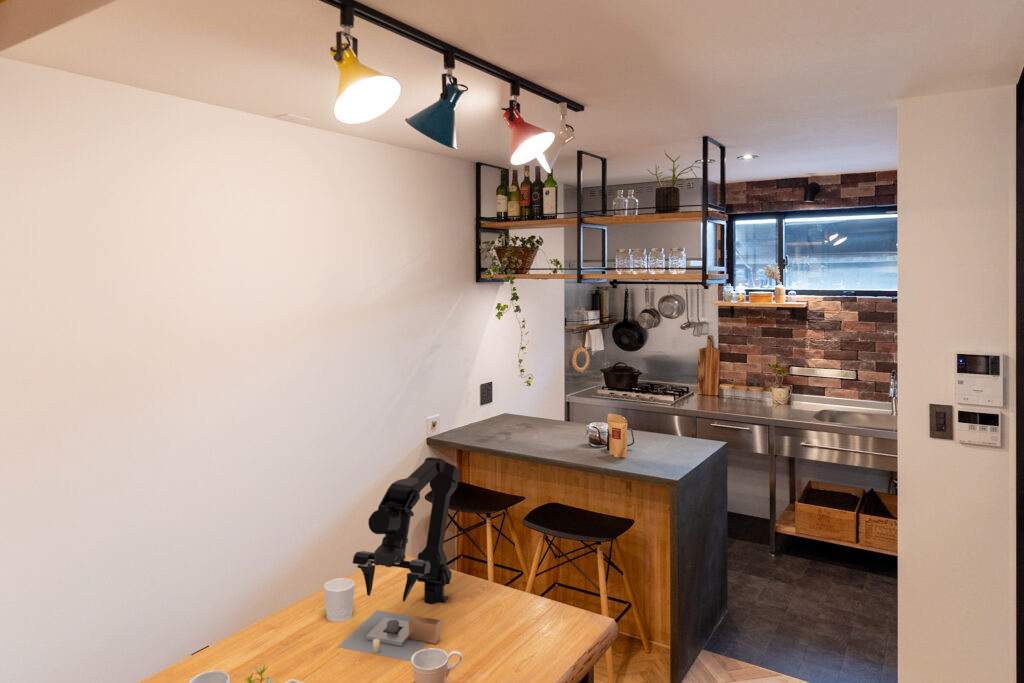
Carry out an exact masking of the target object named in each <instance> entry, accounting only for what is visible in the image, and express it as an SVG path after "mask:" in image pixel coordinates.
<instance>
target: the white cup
mask: <svg viewBox="0 0 1024 683" xmlns="http://www.w3.org/2000/svg"><path fill="white" fill-rule="evenodd" d="M323 590H324V605H325V606H324V607H325V614H326V615H325V616H326V619H327V620H328V622H333V623H343V622H346V621H348V620H350V619H351V618H352V617H353V609H354V599H355V598H354V597H355V596H354V595H355V581H354V580H352V579H350V578H345V577H344V578H343V577H341V578H334V579H333V578H332V579H331V580H327V582H325V583H324V586H323Z"/></svg>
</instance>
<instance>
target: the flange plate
mask: <svg viewBox="0 0 1024 683" xmlns="http://www.w3.org/2000/svg"><path fill="white" fill-rule="evenodd" d="M411 616H412V617H411V618H410V619H409V622H408V621H402V620H397V619H391V618H385V617H384V618H383V619H382V620H381V621H380V622H379V623H378V624H377V625H376V626H375V627H374V628H373V629H372V630H371V631H370V632H369V633H368V634H367V635H366V640H371V641H373V640H374V639H380V642H381V643H387V644H392V645H397V646H403V645H404V644H405V643H406V641H407V640H408V639H412V640H418V641H423V642H427V643H429V644H435V645H436V644H437V643H438V642H439V641H440V639H441V626H440V621H441V620H439V619H436V618H435V619H434V618H428V617H424V616H418V615H411ZM390 620H397V621H399V630H400V631H399V633H398V634H397V635H396V634H390V633H385V632H386V631H387V622H388V621H390Z"/></svg>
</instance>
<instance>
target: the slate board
mask: <svg viewBox="0 0 1024 683" xmlns="http://www.w3.org/2000/svg"><path fill="white" fill-rule="evenodd" d="M412 616H413V615H406V614H401V613H395V612H388V611H383V610H377V609H376V610H375V611H374V612H373V613H372V614H370V616H369V617H368V618H367V619H366V620H365V621H364V622H362V623H361V624H360V625H359V626H358V627H357V628H356V629H355V630H354V631H353V632H352V633H351V634H350V635H349V636H348V637H347V638H346V639H345V640H344V641H342V643H340V644H339V645H338V648H341V649H345V650H350V651H357V652H361V653H364V654H365V653H366V654H372V655H377V656H380V657H387V658H392V659H397V660H402V661H408V662H411V657H412V655H413V654H414V653H415V652H417V651H419V650H421V649H424V648H425V647H426V645H427V644H428V642H423V641H418V640H412V639H408V640H407V641H406V643H405V644H404V645H403V646H397V645H392V644H387V643H381V642H380V639H374V640H373V641H371V640H366V635H367V634H368V633H369V632H370V631H371V630H372V629H373V628H374V627H375V626H376V625H377V624H378V623H379V622H380V621H381V620H382V619H383V618H384V617H385V618H391V619H397V620H402V621H408V622H409V619H410V618H411V617H412ZM397 620H390V621H388V622H387V631H386V632H385V633H390V634H396V635H397V634H398V633H399V631H400V630H399V621H397ZM444 622H445V621H441V620H440V627H442V625H443V624H444ZM421 651H422V650H421Z"/></svg>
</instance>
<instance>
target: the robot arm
mask: <svg viewBox="0 0 1024 683" xmlns="http://www.w3.org/2000/svg"><path fill="white" fill-rule="evenodd" d="M460 479H461V471H460V470H459V469H458V466H456V465H453V464H451V463H449V462H447V461H446V460H445V459H443V458H441V457H435V456H434V457H433V456H428V457H425V459H424V462H423V463H421V465H420V466H419V467H417V468H416V470H414V471H413V472H412V473H411V474H410V475H409V476H407V477H406V478H402V479H397V480H396V481H394V482H393V483H391V484H390V485H389V486H388V488H387V490H386V491H385V493H384V495H383V498H382V499H381V501H380V503H379V504H378V507H377V510H375V511H373V512H372V513H371V515H370V516H369V518H368V522H367V524H368V527H369V528H368V529H369V530H370V532H372V533H373V534H376V535H384V536H383V537H382V541H381V544H380V545H379V546H378V547H377V548H376V549H375V550H374V552H373V551H372V552H371V551H365V550H361V551H356V552H355V553H354V555H353V556H352V557H353V559H352V564H354V565H357V568H358V569H360V570H361V571H362V574H363V579H364V582H365V589H366V594H367V595H366V596H367V597H368V596H369V597H370V596H371V594H372V590H373V586H374V585H373V584H374V577H375V572H376V571H375V570H376V566H382V567H383V566H385V567H386V568H393V567H394V568H402V569H407V570H409V571H410V572H408V573H406V583H405V587H404V590H403V596H402V602H406V601H407V598H408V597H409V595H410V593H411V591H412V589H413V587H414V585H415V584H416V582H420V583H424V584H423V586H424V587H423V591H424V592H423V598H422V600H423V601H424V604H428V605H434V604H437V603H441V604H445V603H446V602H447V601H448V599H449V596H447V595H445V587H446V585H450V584H451V580H452V575H453V574H452V571H451V569H449V567H448V565H447V563H448V557H447V554H446V552H445V550H444V542H445V535H446V529H447V528H446V527H447V522H448V521H447V520H448V514H449V507H450V501H451V500H450V499H451V496H452V495H453V494H454V492H455V491H456V490H457V488H458V485H459V482H460ZM428 484H429V487H430V489H431V492H432V494H433V496H432V503H431V510H430V517H429V524H428V531H427V537H426V538H427V539H426V544H425V547H424V548H423V549H422V551H420V552H419V553H418V554H417V558H414V559H410V560H406V555H405V554H406V551H407V550H406V548H407V544H408V542H409V538H408V537H409V532H410V531H409V530H410V524H411V517H414V516H415V514H414V512H413V508H414V507H415V506H416V504H418V502H419V500H420V499H421V492H422V490H423V489H424V488H425V487H426V486H427V485H428Z"/></svg>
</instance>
